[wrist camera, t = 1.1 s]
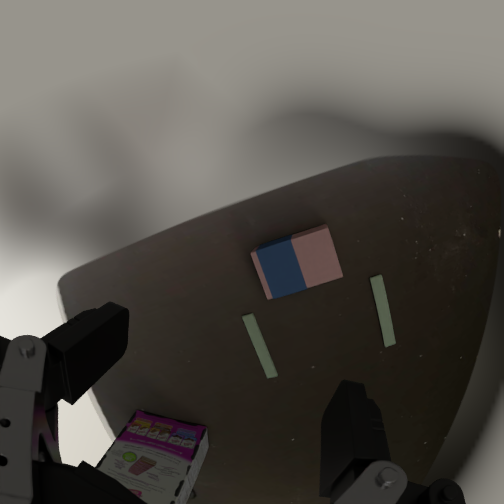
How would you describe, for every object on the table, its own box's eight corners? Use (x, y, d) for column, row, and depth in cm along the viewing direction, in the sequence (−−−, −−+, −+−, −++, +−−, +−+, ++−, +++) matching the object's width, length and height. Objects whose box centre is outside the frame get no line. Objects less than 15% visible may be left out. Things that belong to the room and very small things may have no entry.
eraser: (254, 246, 28) (249, 252, 26) (325, 222, 27) (327, 226, 24) (271, 291, 29) (267, 300, 27) (340, 269, 27) (343, 278, 25)
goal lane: (242, 315, 30) (241, 316, 30) (380, 274, 27) (381, 274, 26) (267, 376, 31) (267, 378, 31) (394, 342, 28) (395, 343, 28)
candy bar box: (143, 430, 38) (93, 503, 22) (136, 408, 37) (78, 484, 21) (211, 447, 36) (173, 535, 20) (208, 425, 35) (164, 521, 19)
